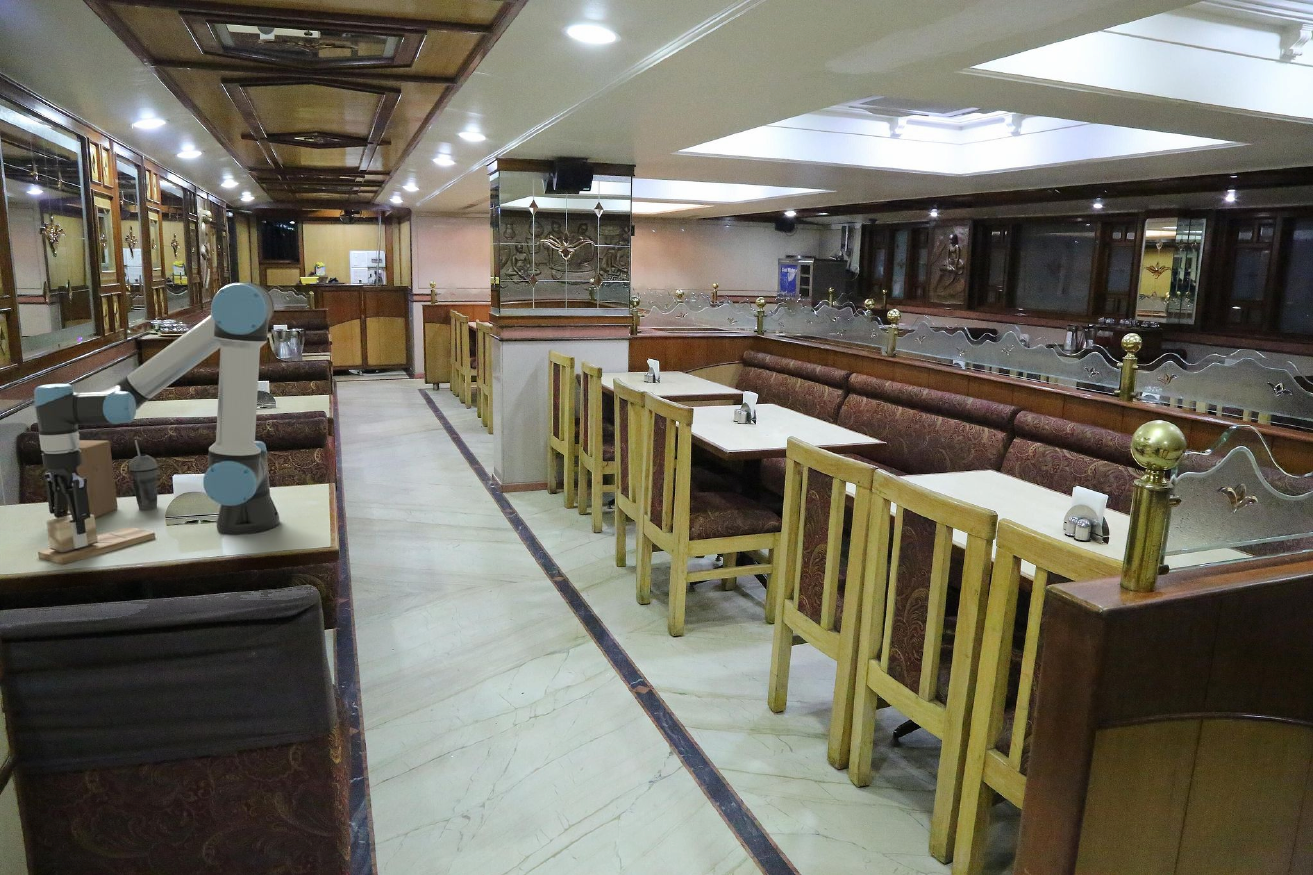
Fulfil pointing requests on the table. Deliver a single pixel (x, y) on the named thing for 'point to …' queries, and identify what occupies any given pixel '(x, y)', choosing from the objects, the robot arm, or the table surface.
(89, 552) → the board
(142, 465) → the beverage cup
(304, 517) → the table surface
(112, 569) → the table surface
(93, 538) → the block
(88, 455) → the wooden block
